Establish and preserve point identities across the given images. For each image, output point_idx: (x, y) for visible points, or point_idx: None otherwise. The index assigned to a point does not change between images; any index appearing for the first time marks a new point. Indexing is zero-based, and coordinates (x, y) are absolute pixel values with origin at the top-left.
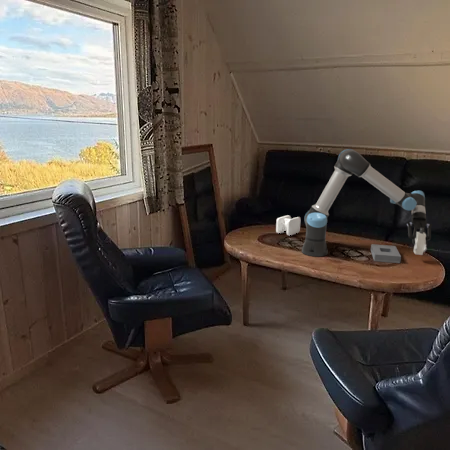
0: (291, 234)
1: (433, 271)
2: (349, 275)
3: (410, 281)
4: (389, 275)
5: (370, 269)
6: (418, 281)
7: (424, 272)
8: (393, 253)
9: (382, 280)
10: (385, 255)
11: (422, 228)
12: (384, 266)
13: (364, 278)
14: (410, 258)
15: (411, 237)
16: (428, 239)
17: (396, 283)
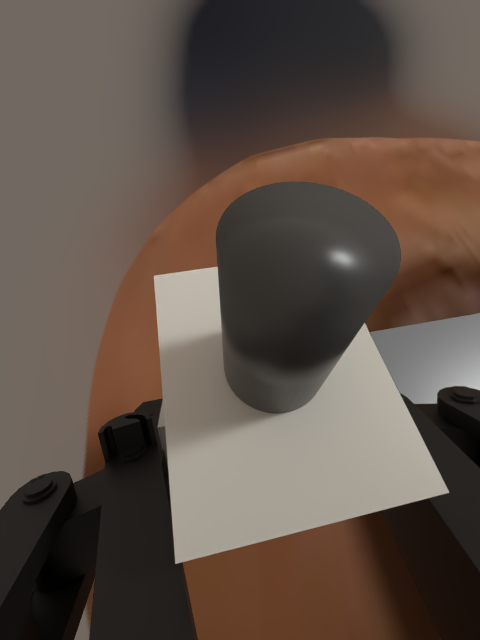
0: None
1: (147, 299)
2: (468, 150)
3: (261, 167)
4: (347, 188)
5: (442, 215)
6: (231, 175)
7: (200, 267)
8: (450, 386)
9: (354, 149)
10: (474, 315)
11: (278, 185)
12: (408, 270)
13: (413, 145)
14: (303, 538)
15: (428, 405)
16: (91, 482)
17: (304, 143)
